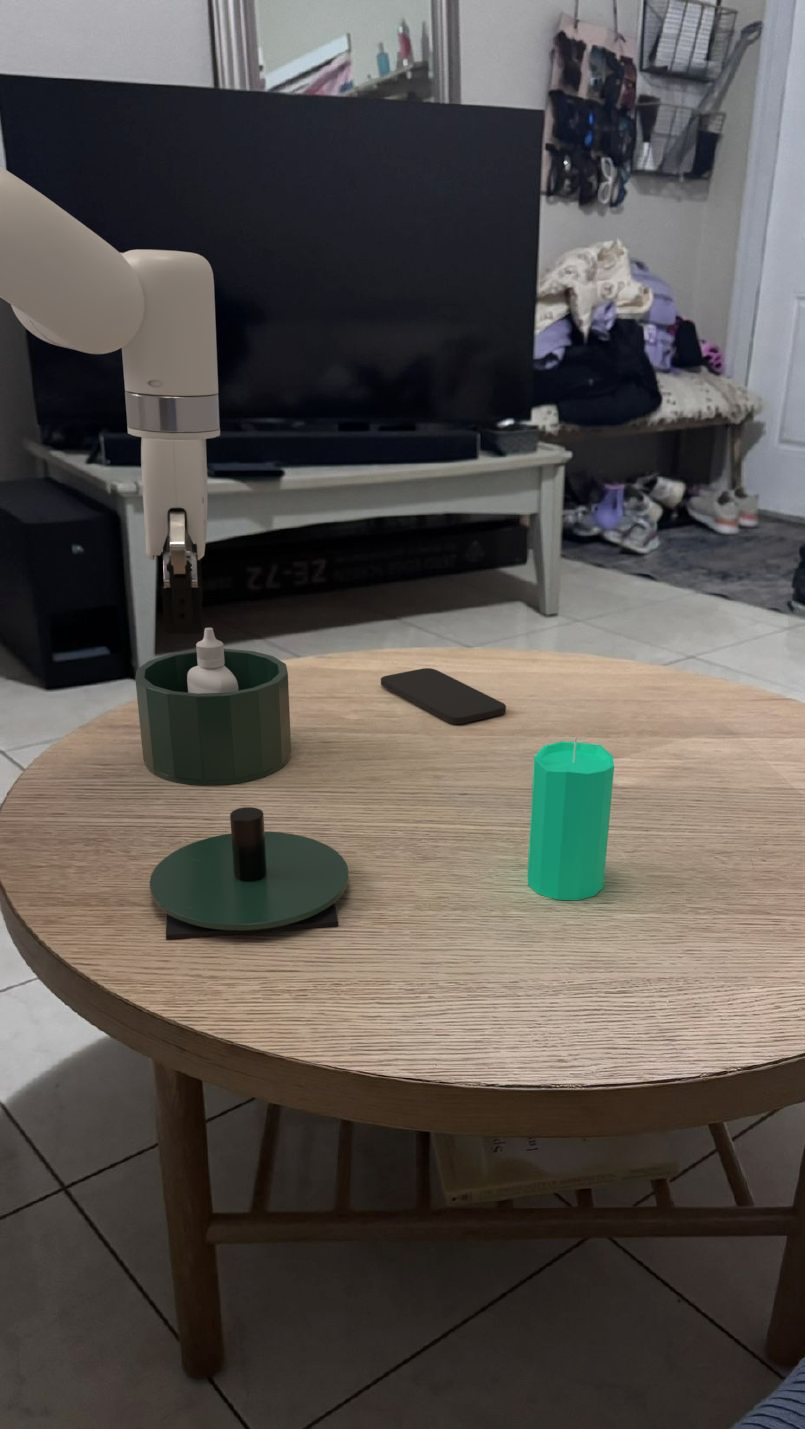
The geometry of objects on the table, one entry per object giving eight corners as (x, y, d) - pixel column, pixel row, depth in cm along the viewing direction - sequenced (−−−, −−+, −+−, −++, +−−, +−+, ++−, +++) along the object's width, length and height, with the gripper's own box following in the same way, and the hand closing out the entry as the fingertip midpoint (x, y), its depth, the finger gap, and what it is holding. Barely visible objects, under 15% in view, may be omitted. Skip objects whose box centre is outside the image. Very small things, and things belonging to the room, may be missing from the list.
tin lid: (146, 946, 79) (138, 867, 77) (154, 849, 92) (147, 779, 90) (359, 929, 82) (358, 852, 80) (338, 837, 95) (336, 769, 92)
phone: (453, 719, 119) (376, 677, 130) (453, 727, 119) (376, 684, 130) (511, 706, 123) (430, 666, 134) (510, 713, 123) (430, 673, 134)
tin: (141, 789, 103) (132, 698, 100) (147, 733, 115) (139, 651, 112) (295, 781, 106) (291, 692, 102) (285, 727, 118) (282, 646, 114)
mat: (166, 940, 81) (165, 935, 81) (170, 860, 91) (169, 856, 91) (338, 926, 83) (338, 921, 83) (323, 850, 94) (323, 846, 94)
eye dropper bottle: (196, 765, 107) (186, 638, 102) (191, 742, 112) (181, 621, 107) (244, 760, 109) (237, 636, 103) (237, 739, 113) (229, 618, 108)
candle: (561, 856, 94) (571, 716, 89) (619, 883, 90) (633, 739, 85) (510, 880, 90) (517, 735, 85) (568, 909, 86) (580, 759, 81)
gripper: (132, 403, 104) (145, 593, 111) (120, 427, 88) (136, 646, 96) (218, 405, 105) (226, 593, 112) (220, 430, 90) (229, 645, 97)
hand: (184, 617), depth 104 cm, fingers open, 9 cm apart
